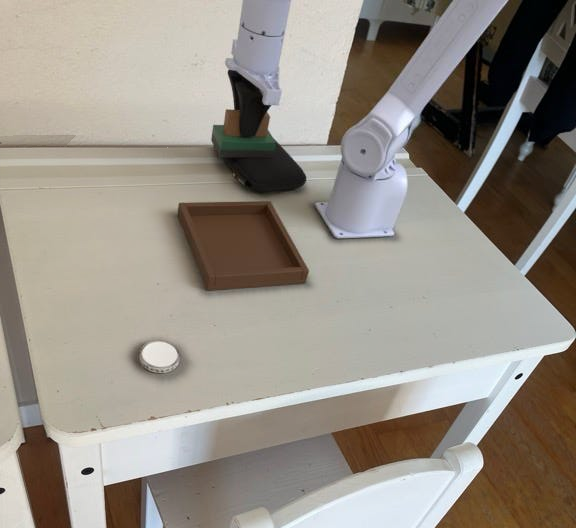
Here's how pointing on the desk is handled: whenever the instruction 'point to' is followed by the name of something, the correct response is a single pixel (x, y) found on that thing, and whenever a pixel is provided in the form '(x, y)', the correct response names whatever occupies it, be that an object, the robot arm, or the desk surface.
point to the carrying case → (268, 172)
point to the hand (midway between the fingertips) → (245, 130)
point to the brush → (242, 139)
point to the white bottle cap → (159, 356)
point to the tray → (241, 245)
